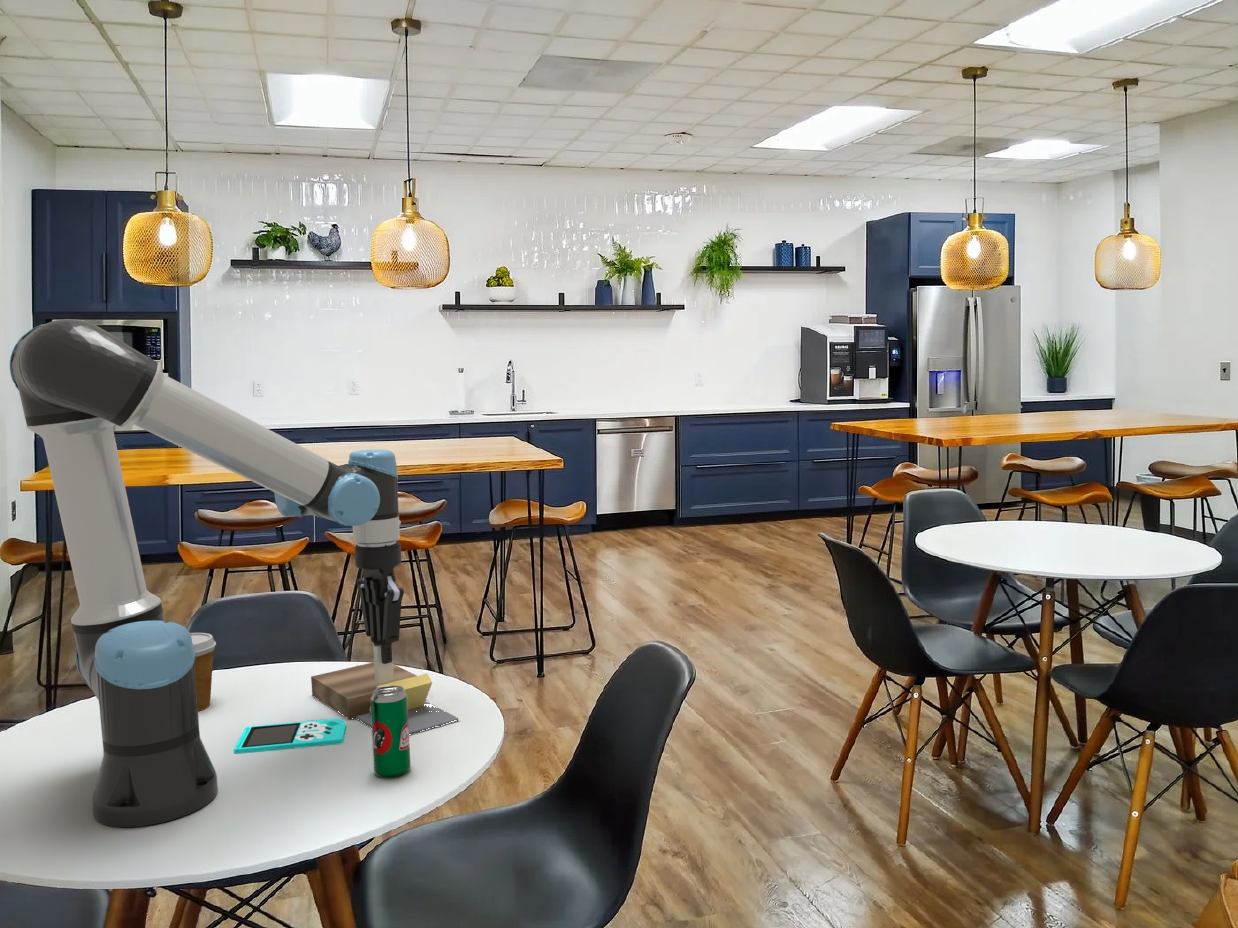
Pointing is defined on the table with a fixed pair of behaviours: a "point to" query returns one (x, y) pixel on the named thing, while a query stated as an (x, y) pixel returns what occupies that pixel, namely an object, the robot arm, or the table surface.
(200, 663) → the disposable coffee cup
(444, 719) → the mat
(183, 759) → the robot arm
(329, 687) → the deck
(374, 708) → the soda can
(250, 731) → the handheld game console
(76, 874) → the table surface
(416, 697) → the yellow rectangular block
